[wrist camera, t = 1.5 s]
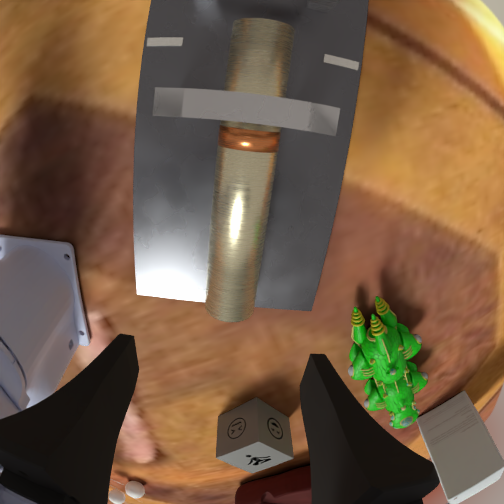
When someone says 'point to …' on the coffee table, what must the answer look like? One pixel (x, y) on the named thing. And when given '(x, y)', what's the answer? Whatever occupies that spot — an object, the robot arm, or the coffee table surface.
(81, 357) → the coffee table surface
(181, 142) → the collar base
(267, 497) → the ashtray
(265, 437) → the dice cube
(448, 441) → the supplement box
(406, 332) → the green bumpy long piece
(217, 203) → the brass tube
